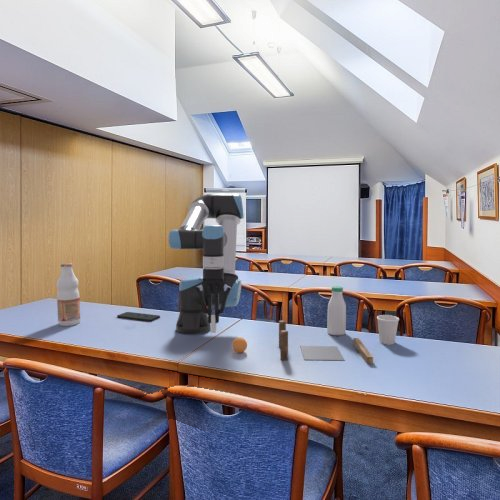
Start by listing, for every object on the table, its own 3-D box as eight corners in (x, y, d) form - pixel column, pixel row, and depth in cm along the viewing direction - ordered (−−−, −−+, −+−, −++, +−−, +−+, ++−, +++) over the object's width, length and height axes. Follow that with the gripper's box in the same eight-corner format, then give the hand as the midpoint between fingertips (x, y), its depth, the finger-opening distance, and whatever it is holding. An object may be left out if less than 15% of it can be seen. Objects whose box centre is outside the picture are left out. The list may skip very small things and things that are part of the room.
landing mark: (304, 360, 137) (304, 359, 137) (300, 346, 151) (300, 345, 151) (344, 360, 137) (344, 359, 137) (336, 346, 151) (336, 346, 150)
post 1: (278, 348, 149) (279, 322, 148) (278, 345, 152) (278, 320, 151) (285, 348, 149) (286, 322, 148) (285, 345, 152) (285, 320, 151)
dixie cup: (386, 346, 150) (387, 321, 149) (371, 340, 158) (372, 316, 157) (402, 343, 154) (403, 319, 153) (387, 337, 161) (388, 313, 160)
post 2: (280, 360, 137) (280, 332, 136) (280, 357, 139) (280, 330, 138) (288, 360, 137) (288, 332, 136) (287, 357, 139) (287, 330, 138)
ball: (231, 354, 142) (231, 340, 141) (232, 349, 147) (232, 335, 147) (246, 355, 142) (246, 340, 141) (247, 349, 147) (247, 335, 147)
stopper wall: (367, 364, 133) (367, 356, 133) (353, 344, 153) (353, 338, 153) (373, 364, 133) (373, 357, 133) (358, 344, 153) (358, 338, 153)
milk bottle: (345, 336, 163) (347, 289, 161) (327, 335, 164) (327, 288, 162) (345, 331, 170) (346, 285, 168) (327, 330, 172) (328, 285, 170)
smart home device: (150, 319, 184) (116, 315, 192) (150, 323, 184) (116, 318, 192) (160, 315, 192) (127, 311, 199) (160, 318, 192) (127, 314, 199)
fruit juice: (53, 325, 178) (50, 264, 175) (67, 320, 187) (64, 262, 185) (72, 327, 176) (69, 265, 174) (84, 321, 186) (82, 262, 183)
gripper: (193, 269, 138) (194, 334, 140) (230, 269, 138) (230, 334, 140) (197, 266, 146) (197, 328, 148) (232, 266, 145) (232, 328, 147)
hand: (213, 331), depth 144 cm, fingers closed
